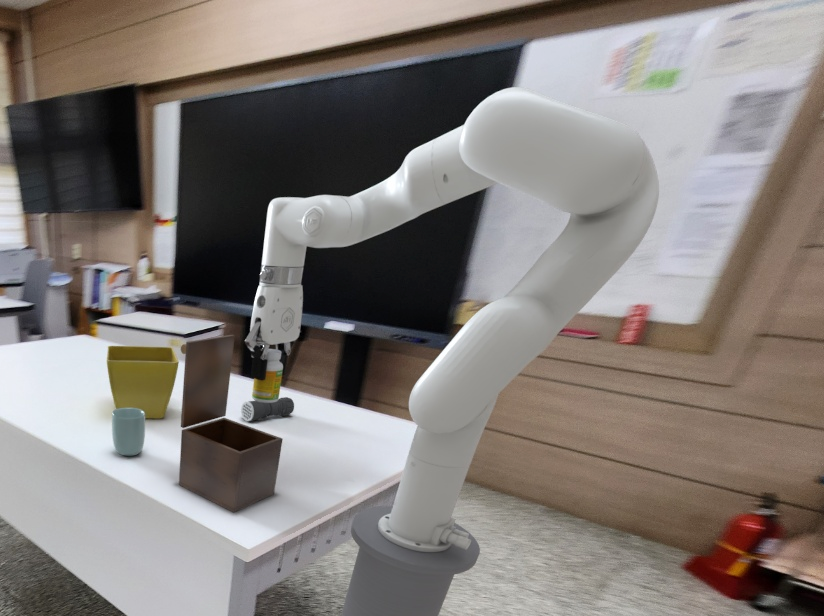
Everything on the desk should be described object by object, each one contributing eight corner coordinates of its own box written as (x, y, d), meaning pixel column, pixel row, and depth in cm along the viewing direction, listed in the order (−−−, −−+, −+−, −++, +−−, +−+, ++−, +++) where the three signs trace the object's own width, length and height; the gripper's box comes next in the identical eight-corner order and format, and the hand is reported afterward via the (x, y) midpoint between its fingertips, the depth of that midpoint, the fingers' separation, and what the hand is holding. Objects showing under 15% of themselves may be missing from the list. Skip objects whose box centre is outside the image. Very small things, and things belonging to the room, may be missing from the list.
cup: (116, 460, 120) (115, 419, 115) (109, 448, 127) (108, 408, 122) (148, 457, 122) (149, 416, 117) (140, 445, 129) (140, 406, 124)
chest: (273, 494, 107) (282, 438, 101) (233, 512, 100) (240, 453, 94) (219, 469, 117) (224, 417, 111) (178, 484, 110) (181, 429, 104)
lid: (234, 335, 102) (214, 330, 106) (189, 342, 95) (168, 336, 98) (225, 416, 111) (207, 408, 114) (183, 428, 103) (164, 420, 107)
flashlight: (282, 411, 155) (285, 393, 152) (294, 417, 151) (297, 398, 148) (240, 417, 149) (242, 399, 146) (251, 423, 145) (253, 404, 142)
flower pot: (170, 402, 160) (172, 346, 152) (176, 423, 144) (179, 361, 135) (108, 401, 159) (107, 345, 150) (107, 422, 142) (106, 360, 134)
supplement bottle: (276, 404, 103) (283, 354, 98) (249, 401, 105) (255, 352, 100) (280, 397, 108) (287, 349, 103) (254, 394, 109) (260, 346, 104)
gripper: (266, 281, 87) (254, 387, 97) (325, 276, 97) (309, 374, 106) (233, 277, 92) (224, 379, 101) (293, 273, 102) (280, 367, 111)
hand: (268, 375), depth 104 cm, fingers closed on supplement bottle, 5 cm apart
